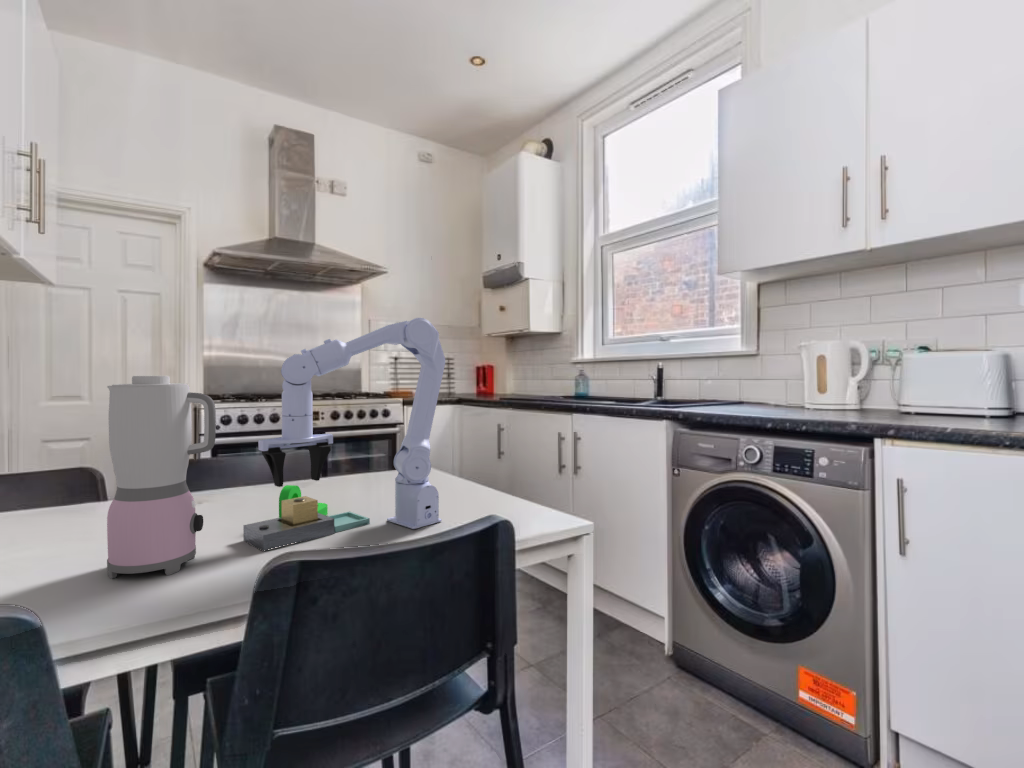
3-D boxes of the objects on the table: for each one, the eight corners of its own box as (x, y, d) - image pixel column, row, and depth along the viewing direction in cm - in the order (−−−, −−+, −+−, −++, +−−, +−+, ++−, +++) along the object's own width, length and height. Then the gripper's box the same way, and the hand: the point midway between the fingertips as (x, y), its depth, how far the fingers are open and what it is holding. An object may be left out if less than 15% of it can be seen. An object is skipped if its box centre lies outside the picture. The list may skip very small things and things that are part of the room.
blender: (90, 585, 79) (87, 376, 78) (125, 557, 91) (122, 375, 90) (207, 574, 83) (204, 376, 83) (225, 549, 95) (223, 375, 94)
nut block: (317, 534, 104) (317, 499, 104) (293, 540, 100) (293, 504, 100) (305, 529, 107) (305, 495, 107) (281, 535, 103) (281, 499, 103)
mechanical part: (306, 527, 108) (306, 489, 108) (279, 526, 108) (278, 488, 108) (332, 511, 120) (331, 477, 119) (307, 510, 120) (307, 476, 120)
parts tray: (369, 523, 111) (369, 518, 111) (335, 532, 105) (335, 526, 105) (349, 516, 116) (349, 511, 116) (315, 524, 110) (315, 519, 110)
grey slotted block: (334, 533, 104) (334, 517, 104) (263, 551, 94) (263, 533, 94) (312, 524, 110) (312, 509, 110) (243, 540, 100) (243, 523, 100)
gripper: (320, 412, 111) (320, 474, 112) (251, 416, 100) (251, 485, 101) (338, 414, 107) (338, 479, 107) (267, 418, 96) (268, 491, 96)
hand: (297, 482), depth 104 cm, fingers open, 7 cm apart
